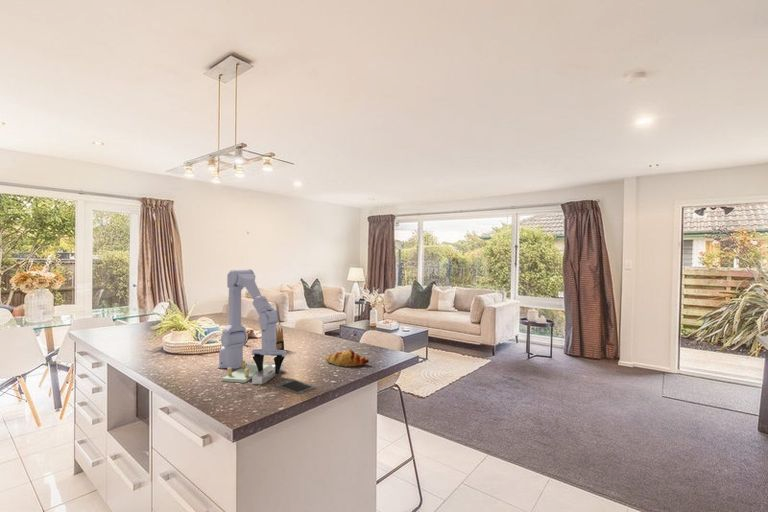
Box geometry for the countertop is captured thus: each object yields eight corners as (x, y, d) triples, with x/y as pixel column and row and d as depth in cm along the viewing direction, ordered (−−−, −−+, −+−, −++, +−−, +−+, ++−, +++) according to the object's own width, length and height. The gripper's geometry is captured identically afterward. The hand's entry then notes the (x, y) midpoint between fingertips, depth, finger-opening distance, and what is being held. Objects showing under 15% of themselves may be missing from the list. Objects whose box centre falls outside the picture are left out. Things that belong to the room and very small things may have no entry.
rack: (221, 381, 143) (221, 370, 143) (249, 366, 163) (249, 357, 163) (244, 382, 141) (244, 372, 141) (270, 367, 161) (270, 358, 161)
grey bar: (263, 384, 139) (263, 376, 139) (250, 383, 140) (250, 376, 140) (284, 370, 157) (284, 363, 157) (273, 369, 158) (273, 362, 158)
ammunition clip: (268, 354, 183) (268, 330, 183) (266, 353, 184) (266, 330, 184) (284, 349, 192) (284, 327, 193) (281, 349, 193) (281, 326, 193)
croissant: (323, 371, 166) (319, 358, 163) (331, 356, 175) (327, 343, 171) (367, 374, 161) (364, 360, 157) (372, 358, 169) (370, 345, 166)
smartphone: (316, 388, 136) (316, 386, 136) (298, 395, 129) (298, 393, 129) (292, 380, 145) (292, 378, 145) (274, 386, 139) (274, 384, 139)
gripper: (247, 341, 146) (247, 375, 146) (280, 342, 143) (280, 377, 143) (256, 337, 153) (256, 369, 153) (288, 338, 150) (288, 371, 150)
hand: (268, 373), depth 149 cm, fingers open, 7 cm apart
